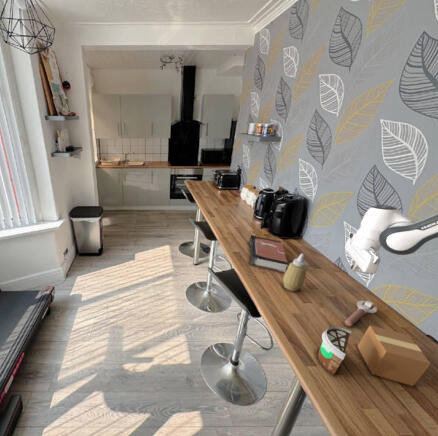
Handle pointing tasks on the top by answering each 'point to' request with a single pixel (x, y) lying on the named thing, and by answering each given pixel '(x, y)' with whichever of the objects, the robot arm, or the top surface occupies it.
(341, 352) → the food container
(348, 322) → the pizza cutter
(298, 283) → the squeeze bottle
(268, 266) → the book
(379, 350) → the carton
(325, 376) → the top surface
